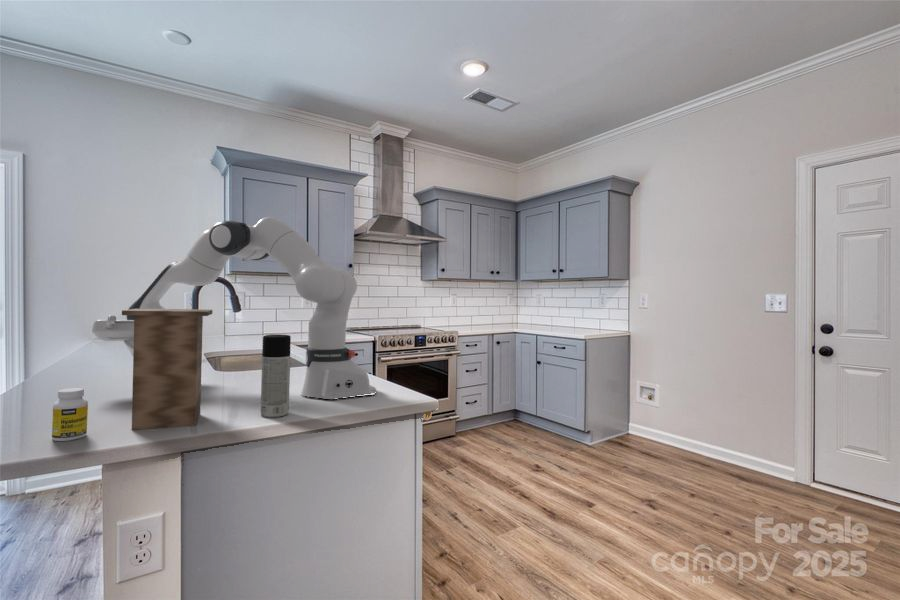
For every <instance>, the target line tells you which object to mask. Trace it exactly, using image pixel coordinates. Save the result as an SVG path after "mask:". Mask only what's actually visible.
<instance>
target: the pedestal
mask: <svg viewBox="0 0 900 600" xmlns="http://www.w3.org/2000/svg"><path fill="white" fill-rule="evenodd" d="M126 315H134V353H133V356H132V359H133V361H132V363H133V364H132V396H131V397H132V398H131V399H132V401H131V403H132V404H131V405H132V406H131V430H132V431H135V430H147V429H160V428H163V429H164V428H173V427H176V428H177V427H189V426H196V424H197V422H198V420H199V418H200V416H201V397H202V394H201V393H202V365H203V363H202V361H203V360H202V359H203V357H202V356H203V355H202V354H203V353H202V352H203V351H202V350H203V323H204V322H203V321H204V320H203V318H204V317H209V316H210V315H213V309H197V308H195V309H191V308H190V309H187V308H186V309H183V308H182V309H180V308H179V309H177V308H165V309H130V310H128V309H122V310H121V316H126Z"/></svg>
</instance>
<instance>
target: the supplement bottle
mask: <svg viewBox="0 0 900 600" xmlns="http://www.w3.org/2000/svg"><path fill="white" fill-rule="evenodd" d="M84 395H85V389H84V388H82V387H70V388H69V387H68V388H62V389H59V390H58V391H57V399H59V400H57V401H55V402H54V403H53V405H52V422H51V424H52V427H51V440H52V441H55V442H68V441H74V440H75V441H76V440H78V439H82V438H84V437H85V436H86V435H87V431H88V413H89V412H88V408H89V403H88V402H89V401H88V400H87V399H85V398H83V397H84Z"/></svg>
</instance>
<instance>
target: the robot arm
mask: <svg viewBox="0 0 900 600" xmlns="http://www.w3.org/2000/svg"><path fill="white" fill-rule="evenodd" d="M269 256H270V258H272V259H273V260H274V261H275V262H276V263H277V264H278V265H279V266H280V267H281V268H282V269H283V270H284V271H285V272H287V273H288V275H289V276H290V277H291V278H292V280H293V282H294V284H295V288H296V291H297V294H299V296H300V297H301V298H302V299H305V300H307V301H309V302H311V303H315V304H316V307H315V309H314V314H313V315H312V317H311V318H310V319H309V322H308V335H307V336H308V339H307V341H308V342H307V348H306V351H305V366H306V371H305V377H304V382H303V387H302V389H301V390H302V391H301V392H300V395H301V396H303V397H305V396H307V397H306V398H309V397H316V398H315V399H318V398H323V399H335V398H343V397H350V396H357V395H364V394H371V393H375V392H376V393H377V388H376V387H375V386H373V385H371V384H370V378H369V375H368V373H367V371H366V370H365V369H363V367H361V366H360V365H359V364H357V363H356V362H355V361H354V360H352V358H354V357H355V356H356V351H355V350H354V349H349V348H347V347H346V339H347V338H346V337H347V336H346V334H347V321H348V316H349V311H350V309H351V308H350V307H351V303H352V299H353V297H354V296H355V294H356V292H357V289H358V284H357V283H358V282H357V280H356V278H355V276H354V275H352V273H351V272H349V271H347V270H345V269H342V268H338V267H332V266H330V265H328V264H327V263H325V262H324V261H323V260H322V259H321V257H320V256H319V255H318V254H317V251H316V248H315V247H314V246H313V245H311V243H309V242H308V240H306V239H304V237H303V236H302V235H301V234H300V233H298V232H297V231H296V230H294V228H292V227H291V226H289V225H288V224H287V223H285V222H283V220H280V219H279V218H277V217H275V216H266V217H265V216H264V217H263V218H261V219H259V220H258V221H257V222H256V224H254V225H249V224H246V223H245V222H240V221H235V220H222V221H218V222H216V223H215V224H213V226H212V227H211V228H209V229H208V228H207V229H206V230H205V231H203V232H202V233H201V234H200V235H199V237H198V238H197V239H196V240H195V242H193V244H192V246H191V247H190V249H189V250H188V252H187V254H186V255H185V257H184V258H183V259H182V260H180V261H173V262H171V263H170V264H168V265H167V266H166V267H164V269H163V270H161V272H160V273H159V274H158V276H156V277H155V279H154V280H153V281H152V283H151V284H150V285H149V286H148V288H146V290H145V291H144V292H143V293H142V294H141V295H140V296H139V298H138V299H136V300H135V301H134V302H133V303H132V305H130V307H128V309H127V310H130V309H166V308H165V307H164V306H162V305H161V303H160V300H161V299H162V298H163V297H164V295H166V293H167V292H168V291H169V290H170V288H171V287H172V286H173V285H174V284H184V285H188V286H189V285H190V286H193V287H195V286H196V287H201V286H202V287H204V286H207V285H211V284H213V283H214V282H216V280H217V279H218V278H219V277H220V275H221V273H222V271H223V270H224V268H225V267H226V264H227V263H228V261H229V260H230V258H232V257H233V258H237V259H241V260H251V261H261V260H264V259H267V258H268V257H269ZM125 317H126V319H117V317H116V315H108V316H107V319H97V320H95V321H94V322H93V324H92V331H91V332H92V333H93V335H95V336H96V337H97V338H98V339H100V340H101V341H104V342H105V341H107V342H118V341H120V342H123V343H124V344H125V346H126V348H127V349H128V351H129V352H130V354H131V356H132V357H133V353H134V315H125ZM323 399H322V400H323Z"/></svg>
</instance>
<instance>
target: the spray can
mask: <svg viewBox="0 0 900 600" xmlns="http://www.w3.org/2000/svg"><path fill="white" fill-rule="evenodd" d="M291 338H292V337H291V335H289V334H267V335H263V337H262V350H261V351H262V354H261V386H260V387H261V390H260V392H261V393H260V415H261V417H263V418H269V419H271V418H274V417H275V418H281V416H282V417H285V416H286V415H288V414H289V411H290V384H291V383H290V380H291V379H290V378H291V342H292V341H291ZM275 418H274V419H275Z"/></svg>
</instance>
